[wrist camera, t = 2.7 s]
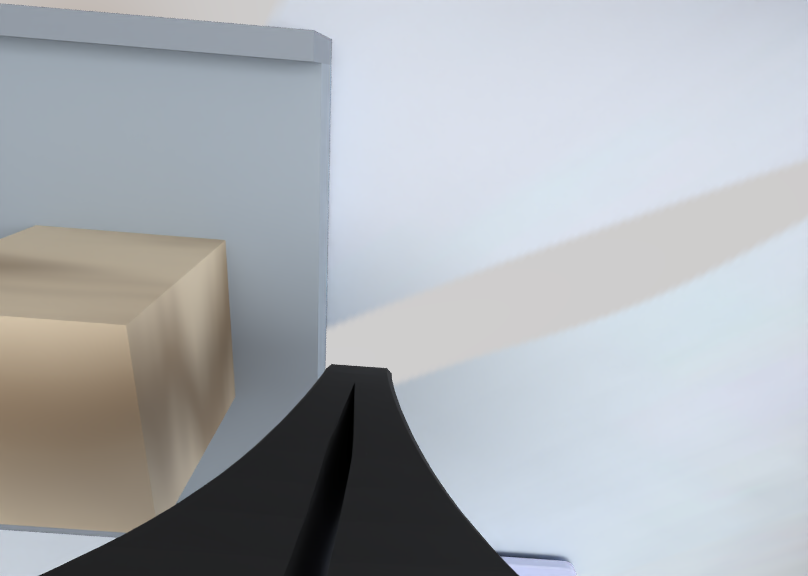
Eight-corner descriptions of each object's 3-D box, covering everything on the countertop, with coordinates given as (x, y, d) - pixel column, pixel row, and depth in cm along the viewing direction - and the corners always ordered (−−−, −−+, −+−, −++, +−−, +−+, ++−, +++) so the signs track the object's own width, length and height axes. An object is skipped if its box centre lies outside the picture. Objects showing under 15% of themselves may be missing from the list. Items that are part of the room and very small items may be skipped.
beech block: (235, 396, 15) (158, 534, 11) (70, 384, 15) (-80, 518, 10) (225, 239, 13) (125, 325, 9) (36, 225, 13) (-167, 303, 9)
